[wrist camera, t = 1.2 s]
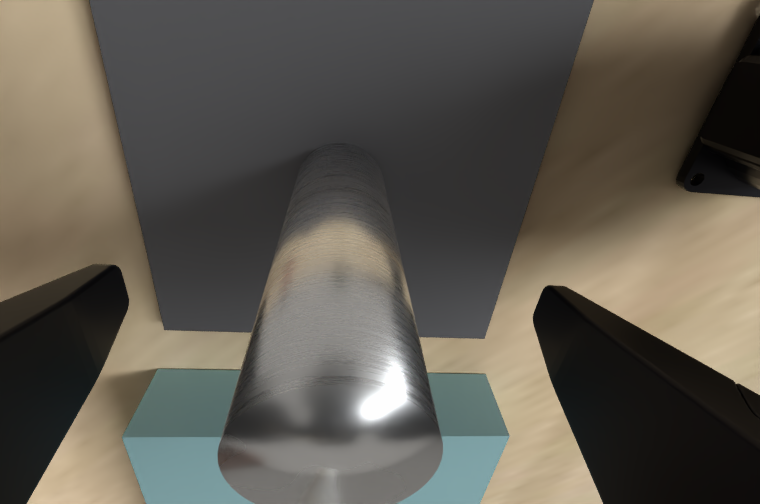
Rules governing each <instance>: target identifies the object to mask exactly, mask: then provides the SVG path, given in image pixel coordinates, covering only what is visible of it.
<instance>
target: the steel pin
mask: <svg viewBox="0 0 760 504" xmlns="http://www.w3.org/2000/svg"><path fill="white" fill-rule="evenodd" d="M442 455H443V441H442V437H441V432H440V428H439V424H438V419H437V415H436V410H435V406H434V402H433V397H432V393H431V388H430V384H429V379H428V375H427V371H426V366H425V362H424V357H423V353H422V349H421V344H420V340H419V335H418V331H417V326H416V322H415V318H414V313H413V309H412V304H411V300H410V295H409V291H408V287H407V282H406V278H405V273H404V269H403V265H402V260H401V256H400V251H399V247H398V242H397V238H396V234H395V229H394V225H393V220H392V216H391V212H390V207H389V203H388V198H387V194H386V189H385V185H384V181H383V176H382V172H381V170H380V167H379V165H378V164H377V162H376V161H375V159H374V158H373V157H372V156H371V155H370V154H369V153H368V152H366V151H365V150H363V149H362V148H360V147H358V146H355V145H352V144H348V143H331V144H327V145H324V146H321V147H319V148H318V149H316V150H314V151H313V152H312V153H310V154H309V155H308V156H307V158H306V159H305V160H304V162H303V163H302V165H301V167H300V170H299V173H298V176H297V180H296V183H295V186H294V190H293V193H292V197H291V200H290V204H289V207H288V210H287V214H286V217H285V221H284V224H283V228H282V231H281V234H280V238H279V241H278V245H277V248H276V251H275V255H274V258H273V262H272V265H271V269H270V272H269V275H268V279H267V282H266V286H265V289H264V292H263V296H262V299H261V303H260V306H259V310H258V313H257V316H256V320H255V323H254V327H253V330H252V333H251V337H250V340H249V344H248V347H247V351H246V354H245V357H244V361H243V364H242V368H241V371H240V375H239V378H238V381H237V385H236V388H235V392H234V395H233V398H232V402H231V405H230V409H229V412H228V416H227V419H226V422H225V426H224V429H223V433H222V436H221V439H220V443H219V447H218V453H217V456H218V465H219V468H220V471H221V473H222V475H223V477H224V479H225V480H226V481H227V483H228V484H229V485H230V486H231V487H232V488H233V489H234V490H235V491H236V492H237V493H238V494H240V495H241V496H242V497H244V498H245V499H247V500H249V501H250V502H252V503H254V504H396V503H398V502H400V501H402V500H404V499H406V498H408V497H409V496H411V495H412V494H414V493H415V492H417V491H418V490H420V489H421V488H422V487H423V486H424V485H425V484H426V483H427V482H428V481H429V480H430V479H431V478H432V477H433V475H434V474H435V472H436V471H437V469H438V467H439V465H440V462H441V460H442Z"/></svg>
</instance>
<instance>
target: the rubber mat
mask: <svg viewBox="0 0 760 504" xmlns="http://www.w3.org/2000/svg"><path fill="white" fill-rule="evenodd" d="M593 1H594V0H89V2H90V6H91V11H92V15H93V19H94V24H95V28H96V32H97V37H98V41H99V46H100V50H101V54H102V59H103V63H104V68H105V72H106V76H107V81H108V85H109V89H110V94H111V98H112V103H113V107H114V111H115V116H116V120H117V125H118V129H119V133H120V138H121V142H122V146H123V151H124V155H125V160H126V164H127V168H128V173H129V177H130V182H131V186H132V190H133V195H134V199H135V203H136V208H137V212H138V217H139V221H140V225H141V230H142V234H143V239H144V243H145V247H146V252H147V256H148V260H149V265H150V269H151V274H152V278H153V282H154V287H155V291H156V296H157V300H158V304H159V309H160V313H161V318H162V322H163V326H164V330H181V331H218V332H252V330H253V327H254V323H255V320H256V316H257V313H258V310H259V306H260V303H261V299H262V296H263V292H264V289H265V286H266V282H267V279H268V275H269V272H270V269H271V265H272V262H273V258H274V255H275V251H276V248H277V245H278V241H279V238H280V234H281V231H282V228H283V224H284V221H285V217H286V214H287V210H288V207H289V204H290V200H291V197H292V193H293V190H294V186H295V183H296V180H297V176H298V173H299V170H300V167H301V165H302V163H303V162H304V160H305V159H306V158H307V156H308V155H309V154H310V153H312V152H313V151H314V150H316V149H318V148H319V147H321V146H324V145H327V144H331V143H348V144H352V145H355V146H358V147H360V148H362V149H363V150H365V151H366V152H368V153H369V154H370V155H371V156H372V157H373V158H374V159H375V161H376V162H377V164H378V165H379V167H380V170H381V172H382V176H383V181H384V185H385V189H386V194H387V198H388V203H389V207H390V212H391V216H392V220H393V225H394V229H395V234H396V238H397V242H398V247H399V251H400V256H401V260H402V265H403V269H404V273H405V278H406V282H407V287H408V291H409V295H410V300H411V304H412V309H413V313H414V318H415V322H416V326H417V331H418V335H419V337H440V338H477V339H484V338H485V335H486V332H487V329H488V326H489V323H490V320H491V317H492V314H493V311H494V307H495V304H496V301H497V298H498V295H499V292H500V289H501V286H502V283H503V280H504V277H505V273H506V270H507V267H508V264H509V261H510V258H511V255H512V252H513V249H514V246H515V243H516V239H517V236H518V233H519V230H520V227H521V224H522V221H523V218H524V215H525V212H526V209H527V205H528V202H529V199H530V196H531V193H532V190H533V187H534V184H535V181H536V178H537V175H538V171H539V168H540V165H541V162H542V159H543V156H544V153H545V150H546V147H547V144H548V140H549V137H550V134H551V131H552V128H553V125H554V122H555V119H556V116H557V113H558V110H559V106H560V103H561V100H562V97H563V94H564V91H565V88H566V85H567V82H568V79H569V76H570V72H571V69H572V66H573V63H574V60H575V57H576V54H577V51H578V48H579V45H580V42H581V38H582V35H583V32H584V29H585V26H586V23H587V20H588V17H589V14H590V11H591V8H592V4H593Z"/></svg>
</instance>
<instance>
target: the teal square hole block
mask: <svg viewBox="0 0 760 504" xmlns="http://www.w3.org/2000/svg"><path fill="white" fill-rule="evenodd" d="M240 371H241V370H194V369H158V370H157V371H156V373H155V375H154V377H153V379H152V381H151V383H150V385H149V387H148V389H147V390H146V392H145V394H144V396H143V398H142V400H141V402H140V404H139V406H138V408H137V409H136V411H135V413H134V415H133V417H132V419H131V421H130V423H129V425H128V427H127V428H126V430H125V432H124V434H123V436H122V439H123V442H124V445H125V447H126V450H127V453H128V456H129V458H130V461H131V464H132V466H133V469H134V472H135V475H136V477H137V480H138V483H139V485H140V488H141V491H142V494H143V496H144V499H145V502H146V504H254V503H252V502H250V501H249V500H247V499H245V498H244V497H242V496H241V495H240V494H238V493H237V492H236V491H235V490H234V489H233V488H232V487H231V486H230V485H229V484H228V483H227V481H226V480H225V479H224V477H223V475H222V473H221V471H220V468H219V465H218V456H217V453H218V447H219V443H220V439H221V436H222V433H223V429H224V426H225V422H226V419H227V416H228V412H229V409H230V405H231V402H232V398H233V395H234V392H235V388H236V385H237V381H238V378H239V375H240ZM427 375H428V379H429V384H430V388H431V393H432V397H433V402H434V406H435V410H436V415H437V419H438V424H439V428H440V432H441V437H442V441H443V455H442V460H441V462H440V465H439V467H438V469H437V471H436V472H435V474H434V475H433V477H432V478H431V479H430V480H429V481H428V482H427V483H426V484H425V485H424V486H423V487H422V488H421V489H420V490H418V491H417V492H415V493H414V494H412V495H411V496H409V497H408V498H406V499H404V500H402V501H400V502H398V503H396V504H480V502H481V500H482V497H483V495H484V493H485V491H486V488H487V486H488V484H489V482H490V479H491V477H492V475H493V472H494V470H495V468H496V466H497V463H498V461H499V459H500V457H501V454H502V452H503V450H504V448H505V445H506V443H507V441H508V439H509V433H508V431H507V428H506V426H505V423H504V420H503V418H502V415H501V413H500V410H499V408H498V405H497V402H496V400H495V397H494V395H493V392H492V389H491V387H490V384H489V382H488V379H487V377H486V374H445V373H427Z"/></svg>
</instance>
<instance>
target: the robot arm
mask: <svg viewBox="0 0 760 504" xmlns="http://www.w3.org/2000/svg"><path fill="white" fill-rule="evenodd" d="M694 175H696V176H695V178H694V179H693V180H691V179H692V177H693V176H694ZM676 182H677V185H678V186H679V187H681V188H683V189H685V190H686V191H689V192H698V193H711V194H724V195H737V196H750V197H760V15H759V17H758V19H757V21H756V23H755V25H754V27H753V29H752V31H751V33H750V35H749V37H748V39H747V41H746V43H745V45H744V47H743V49H742V50H741V52H740V54H739V56H738V58H737V60H736V62H735V64H734V66H733V68H732V70H731V72H730V74H729V76H728V78H727V80H726V82H725V84H724V86H723V88H722V89H721V91H720V93H719V95H718V97H717V99H716V101H715V103H714V105H713V107H712V109H711V111H710V113H709V115H708V117H707V119H706V121H705V123H704V125H703V127H702V128H701V130H700V132H699V134H698V136H697V138H696V140H695V142H694V144H693V146H692V148H691V150H690V152H689V154H688V156H687V158H686V160H685V162H684V164H683V166H682V167H681V169H680V171H679V173H678V176H677V179H676ZM128 306H129V298H128V294H127V290H126V286H125V283H124V279H123V276H122V272H121V270H120V268H119V267H117V266H116V265H105V264H93V265H90V266H88V267H86V268H83V269H81V270H78V271H76V272H73V273H71V274H68V275H66V276H64V277H61V278H59V279H56V280H54V281H51V282H49V283H46V284H44V285H42V286H39V287H37V288H34V289H32V290H29V291H27V292H24V293H22V294H20V295H17V296H15V297H12V298H10V299H7V300H5V301H2V302H0V504H27V502H28V500H29V498H30V497H31V495H32V493H33V491H34V490H35V488H36V486H37V484H38V483H39V481H40V479H41V477H42V476H43V474H44V472H45V470H46V469H47V467H48V465H49V463H50V462H51V460H52V458H53V456H54V454H55V453H56V451H57V449H58V447H59V446H60V444H61V442H62V440H63V439H64V437H65V435H66V433H67V432H68V430H69V428H70V426H71V425H72V423H73V421H74V419H75V418H76V416H77V414H78V412H79V411H80V409H81V407H82V405H83V404H84V402H85V400H86V398H87V396H88V395H89V393H90V391H91V389H92V388H93V386H94V384H95V382H96V380H97V378H98V377H99V375H100V373H101V370H102V368H103V366H104V364H105V362H106V359H107V357H108V355H109V352H110V350H111V347H112V345H113V343H114V340H115V338H116V336H117V333H118V331H119V329H120V326H121V324H122V322H123V319H124V317H125V315H126V312H127V310H128ZM533 324H534V327H535V331H536V334H537V337H538V340H539V344H540V347H541V350H542V353H543V357H544V360H545V363H546V366H547V370H548V373H549V376H550V379H551V382H552V384H553V387H554V389H555V392H556V394H557V397H558V399H559V401H560V404H561V406H562V408H563V411H564V413H565V415H566V418H567V420H568V422H569V425H570V427H571V429H572V432H573V434H574V436H575V439H576V441H577V443H578V446H579V448H580V450H581V453H582V455H583V457H584V460H585V462H586V464H587V467H588V469H589V471H590V474H591V476H592V478H593V481H594V483H595V485H596V488H597V490H598V492H599V495H600V497H601V499H602V502H603V504H760V395H758V394H757V393H755V392H753V391H751V390H749V389H748V388H746V387H744V386H742V385H741V384H735V382H734V381H733V380H731V379H730V378H728V377H726V376H724V375H723V374H721V373H719V372H717V371H715V370H714V369H712V368H710V367H708V366H706V365H705V364H703V363H701V362H699V361H698V360H696V359H694V358H692V357H690V356H689V355H687V354H685V353H683V352H681V351H680V350H678V349H676V348H674V347H673V346H671V345H669V344H667V343H665V342H664V341H662V340H660V339H658V338H657V337H655V336H653V335H651V334H649V333H648V332H646V331H644V330H642V329H640V328H639V327H637V326H635V325H633V324H632V323H630V322H628V321H626V320H624V319H623V318H621V317H619V316H617V315H616V314H614V313H612V312H610V311H608V310H607V309H605V308H603V307H601V306H599V305H598V304H596V303H594V302H592V301H591V300H589V299H587V298H585V297H583V296H582V295H580V294H578V293H576V292H574V291H573V290H571V289H569V288H567V287H565V286H553V285H548V286H546V287H545V288H544V289H543V291H542V293H541V296H540V298H539V301H538V304H537V306H536V309H535V311H534V314H533Z"/></svg>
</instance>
